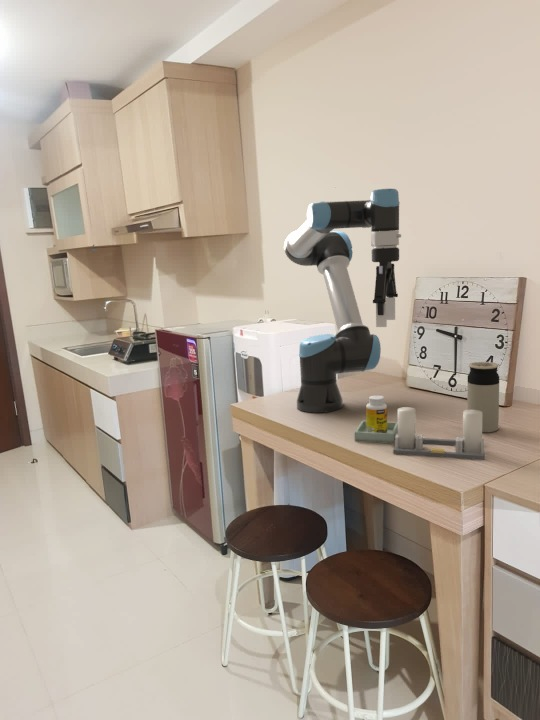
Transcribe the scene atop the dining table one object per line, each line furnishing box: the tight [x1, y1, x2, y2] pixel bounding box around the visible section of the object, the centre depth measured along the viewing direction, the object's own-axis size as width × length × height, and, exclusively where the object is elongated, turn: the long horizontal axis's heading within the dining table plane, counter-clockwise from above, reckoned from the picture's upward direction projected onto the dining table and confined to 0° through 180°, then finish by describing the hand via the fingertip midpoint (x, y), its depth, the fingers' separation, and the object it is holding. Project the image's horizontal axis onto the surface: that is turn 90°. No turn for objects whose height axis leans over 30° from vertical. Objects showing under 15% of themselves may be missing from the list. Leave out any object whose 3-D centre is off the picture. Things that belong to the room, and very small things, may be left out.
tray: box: [354, 420, 398, 444], centre depth 148 cm, size 10×10×2 cm
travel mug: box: [466, 361, 500, 434], centre depth 148 cm, size 8×8×18 cm
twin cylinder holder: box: [392, 406, 485, 461], centre depth 135 cm, size 21×10×10 cm, turn 70°
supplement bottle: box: [365, 395, 388, 433], centre depth 148 cm, size 6×6×10 cm
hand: (386, 323), depth 155 cm, fingers open, 13 cm apart
